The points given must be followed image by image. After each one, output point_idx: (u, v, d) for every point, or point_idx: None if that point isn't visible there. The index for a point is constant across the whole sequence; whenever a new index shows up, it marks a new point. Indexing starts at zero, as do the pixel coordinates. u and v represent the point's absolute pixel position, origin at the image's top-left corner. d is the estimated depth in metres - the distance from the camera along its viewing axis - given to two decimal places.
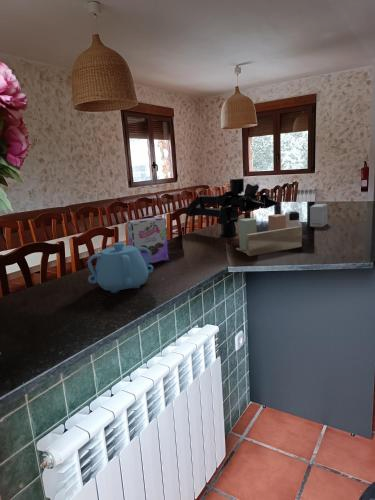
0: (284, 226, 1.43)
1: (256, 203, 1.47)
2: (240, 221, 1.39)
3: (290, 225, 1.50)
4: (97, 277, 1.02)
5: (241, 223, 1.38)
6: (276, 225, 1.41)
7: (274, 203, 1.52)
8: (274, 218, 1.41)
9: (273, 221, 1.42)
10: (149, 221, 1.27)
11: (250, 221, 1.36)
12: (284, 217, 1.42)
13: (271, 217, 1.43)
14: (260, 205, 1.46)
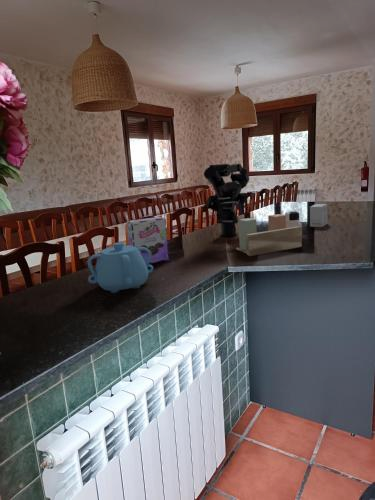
0: (284, 226, 1.43)
1: (220, 209, 1.48)
2: (240, 221, 1.39)
3: (290, 225, 1.50)
4: (97, 277, 1.02)
5: (241, 223, 1.38)
6: (276, 225, 1.41)
7: (241, 212, 1.51)
8: (274, 218, 1.41)
9: (273, 221, 1.42)
10: (149, 221, 1.27)
11: (250, 221, 1.36)
12: (284, 217, 1.42)
13: (271, 217, 1.43)
14: (222, 214, 1.48)
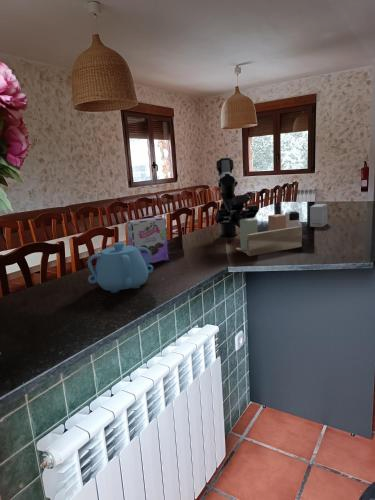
0: (284, 226, 1.43)
1: (239, 223, 1.42)
2: (241, 221, 1.38)
3: (290, 225, 1.50)
4: (97, 277, 1.02)
5: (242, 223, 1.38)
6: (276, 225, 1.41)
7: None
8: (274, 218, 1.41)
9: (273, 221, 1.42)
10: (149, 221, 1.27)
11: (251, 221, 1.36)
12: (284, 217, 1.42)
13: (271, 217, 1.43)
14: None
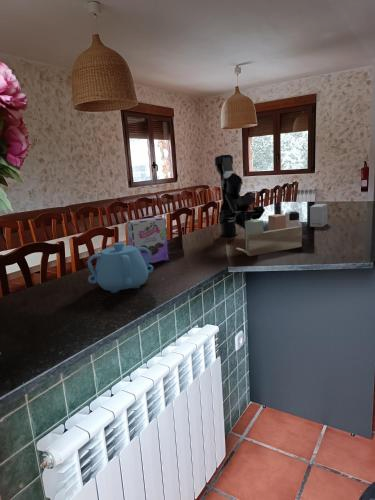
0: (284, 226, 1.43)
1: (244, 224, 1.38)
2: (246, 222, 1.35)
3: (290, 225, 1.50)
4: (97, 277, 1.02)
5: (247, 224, 1.34)
6: (276, 225, 1.41)
7: None
8: (274, 218, 1.41)
9: (273, 221, 1.42)
10: (149, 221, 1.27)
11: (257, 222, 1.32)
12: (284, 217, 1.42)
13: (271, 217, 1.43)
14: None
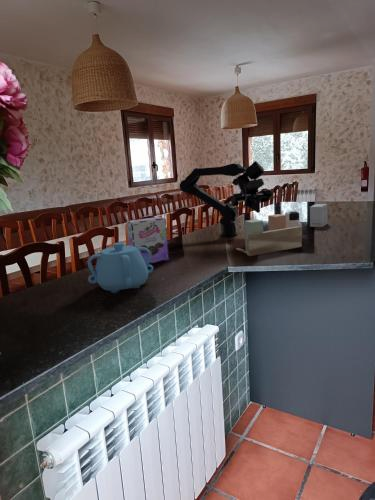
0: (284, 226, 1.43)
1: (253, 206, 1.54)
2: (246, 222, 1.35)
3: (290, 225, 1.50)
4: (97, 277, 1.02)
5: (247, 224, 1.34)
6: (276, 225, 1.41)
7: None
8: (274, 218, 1.41)
9: (273, 221, 1.42)
10: (149, 221, 1.27)
11: (256, 222, 1.32)
12: (284, 217, 1.42)
13: (271, 217, 1.43)
14: (255, 210, 1.53)
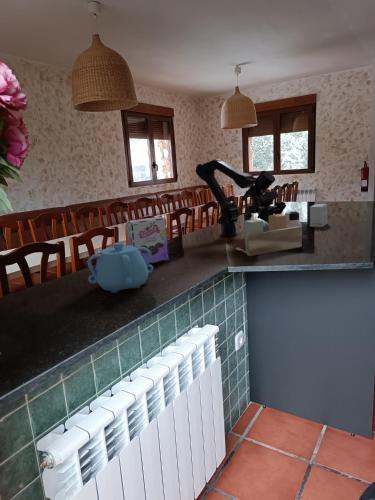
0: (284, 226, 1.43)
1: (268, 218, 1.47)
2: (246, 222, 1.35)
3: (290, 225, 1.50)
4: (97, 277, 1.02)
5: (247, 224, 1.34)
6: (276, 225, 1.41)
7: None
8: (274, 218, 1.41)
9: (274, 222, 1.42)
10: (149, 221, 1.27)
11: (256, 222, 1.32)
12: (284, 217, 1.42)
13: (271, 217, 1.43)
14: None
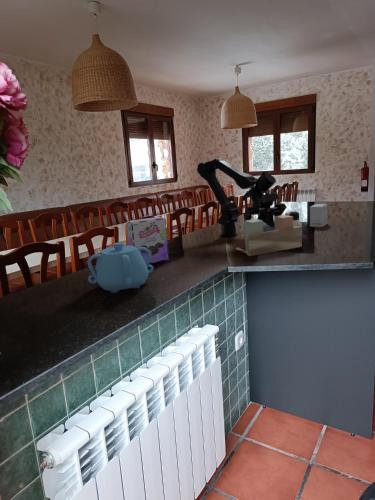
0: None
1: (267, 220, 1.47)
2: (246, 222, 1.35)
3: None
4: (97, 277, 1.02)
5: (247, 224, 1.34)
6: (283, 226, 1.37)
7: None
8: (281, 219, 1.37)
9: (280, 223, 1.38)
10: (149, 221, 1.27)
11: (256, 222, 1.32)
12: (291, 218, 1.38)
13: (278, 218, 1.39)
14: (269, 224, 1.47)
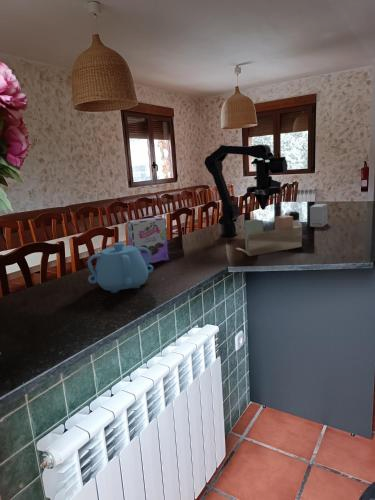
0: None
1: (265, 202, 1.56)
2: (246, 222, 1.35)
3: None
4: (97, 277, 1.02)
5: (247, 224, 1.34)
6: (283, 226, 1.37)
7: None
8: (281, 219, 1.37)
9: (280, 223, 1.38)
10: (149, 221, 1.27)
11: (256, 222, 1.32)
12: (291, 218, 1.38)
13: (278, 218, 1.39)
14: (263, 206, 1.56)
